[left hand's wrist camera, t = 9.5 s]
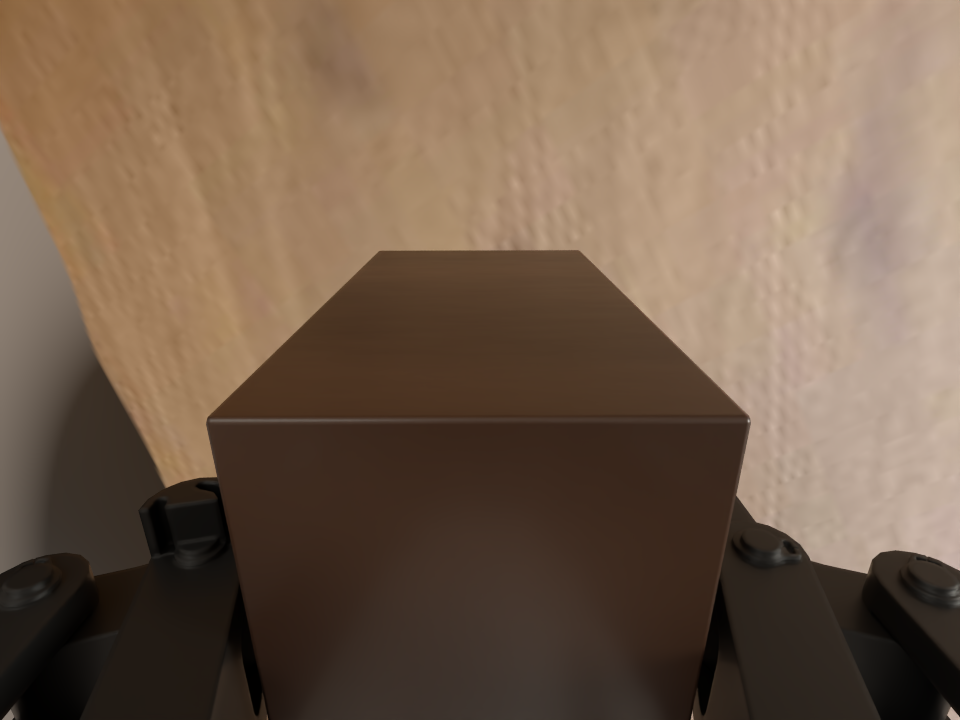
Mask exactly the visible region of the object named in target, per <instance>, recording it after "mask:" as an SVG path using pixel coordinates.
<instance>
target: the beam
mask: <svg viewBox="0 0 960 720" xmlns="http://www.w3.org/2000/svg"><path fill="white" fill-rule="evenodd" d="M750 424H751V422H750V418H749V416H748V415H747V414H746V413H745V412H744V411H743V410H742V409H741V408H740V407H739V406H738V405H737V404H736V403H735V402H734V401H733V400H732V399H731V398H730V397H729V396H728V395H727V394H726V393H725V392H724V391H723V390H722V389H721V388H720V387H719V386H718V385H717V384H716V383H715V382H714V381H712V380H711V379H710V378H709V377H708V376H707V375H706V374H705V373H704V372H703V371H702V370H701V369H700V368H699V367H698V366H697V365H696V364H695V363H694V362H693V361H692V360H691V359H690V358H689V357H688V356H687V355H686V354H685V353H684V352H683V351H682V350H681V349H680V348H679V347H678V346H677V345H676V344H675V343H674V342H673V341H671V340H670V339H669V338H668V337H667V336H666V335H665V334H664V333H663V332H662V331H661V330H660V329H659V328H658V327H657V326H656V325H655V324H654V323H653V322H652V321H651V320H650V319H649V318H648V317H647V316H646V315H645V314H644V313H643V312H642V311H641V310H640V309H639V308H638V307H637V306H636V305H635V304H634V303H633V302H632V301H630V300H629V299H628V298H627V297H626V296H625V295H624V294H623V293H622V292H621V291H620V290H619V289H618V288H617V287H616V286H615V285H614V284H613V283H612V282H611V281H610V280H609V279H608V278H607V277H606V276H605V275H604V274H603V273H602V272H601V271H600V270H599V269H598V268H597V267H596V266H595V265H594V264H593V263H592V262H591V261H589V260H588V259H587V258H586V257H585V256H584V255H583V254H582V253H581V252H580V251H578V250H546V251H379V252H378V253H377V254H376V255H375V256H374V257H373V258H372V259H371V260H370V261H369V262H368V263H367V264H366V265H365V266H363V267H362V268H361V269H360V270H359V271H358V272H357V273H356V274H355V275H354V276H353V277H352V278H351V279H350V280H349V281H348V282H347V283H346V284H345V285H344V286H343V287H342V288H341V289H340V290H339V291H338V292H337V293H336V294H335V295H334V296H333V297H331V298H330V299H329V300H328V301H327V302H326V303H325V304H324V305H323V306H322V307H321V308H320V309H319V310H318V311H317V312H316V313H315V314H314V315H313V316H312V317H311V318H310V319H309V320H308V321H307V322H306V323H305V324H304V325H303V326H302V327H301V328H299V329H298V330H297V331H296V332H295V333H294V334H293V335H292V336H291V337H290V338H289V339H288V340H287V341H286V342H285V343H284V344H283V345H282V346H281V347H280V348H279V349H278V350H277V351H276V352H275V353H274V354H273V355H272V356H271V357H270V358H269V359H267V360H266V361H265V362H264V363H263V364H262V365H261V366H260V367H259V368H258V369H257V370H256V371H255V372H254V373H253V374H252V375H251V376H250V377H249V378H248V379H247V380H246V381H245V382H244V383H243V384H242V385H241V386H240V387H239V388H238V389H237V390H235V391H234V392H233V393H232V394H231V395H230V396H229V397H228V398H227V399H226V400H225V401H224V402H223V403H222V404H221V405H220V406H219V407H218V408H217V409H216V410H215V411H214V412H213V413H212V414H211V415H210V416H209V417H208V418H207V423H206V425H207V430H208V435H209V440H210V444H211V449H212V454H213V459H214V463H215V468H216V473H217V478H218V482H219V487H220V492H221V497H222V501H223V506H224V511H225V516H226V521H227V525H228V530H229V535H230V540H231V544H232V549H233V554H234V559H235V563H236V568H237V573H238V578H239V582H240V587H241V592H242V597H243V601H244V606H245V611H246V616H247V620H248V625H249V630H250V635H251V639H252V644H253V649H254V654H255V658H256V663H257V668H258V673H259V677H260V682H261V687H262V692H263V696H264V701H265V706H266V711H267V715H268V720H691V715H692V710H693V705H694V700H695V695H696V690H697V685H698V680H699V675H700V671H701V666H702V661H703V656H704V651H705V646H706V641H707V636H708V631H709V626H710V621H711V616H712V611H713V606H714V602H715V597H716V592H717V587H718V582H719V577H720V572H721V567H722V562H723V557H724V552H725V547H726V542H727V537H728V532H729V528H730V523H731V518H732V513H733V508H734V503H735V498H736V493H737V488H738V483H739V478H740V473H741V468H742V463H743V459H744V454H745V449H746V444H747V439H748V434H749V429H750Z"/></svg>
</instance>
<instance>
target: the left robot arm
mask: <svg viewBox="0 0 960 720" xmlns="http://www.w3.org/2000/svg"><path fill="white" fill-rule="evenodd" d="M139 514H140V518H141V521H142V525H143V528H144V532H145V536H146V539H147V543H148V546H149V550H150V554H151V559H150V562H149V564H146V565H142V566H138V567H135V568H130V569H126V570H121V571H116V572H112V573H107V574H102V575H97V576H93V573H92V570H91V567H90V564H89V562H88V561H87V560H86V559H85V558H84V557H82V556H81V555H78V554H71V553H60V554H52V555H46V556H42V557H38V558H36V559H31V560H29V561H26V562H23V563H21V564H19V565H18V566H16V567H14V568H12V569H10V570H7V571H6V572H3V573H2V574H0V720H2V719H3V718H4V716H5V715H6V714H7V713H8V712H9V710H10V709H11V710H12V713H13V715H14V718H13V720H266V719H267V711H266V706H265V701H264V696H263V692H262V687H261V682H260V677H259V673H258V668H257V663H256V658H255V654H254V649H253V644H252V639H251V635H250V630H249V625H248V620H247V616H246V611H245V606H244V601H243V597H242V592H241V587H240V582H239V578H238V573H237V568H236V563H235V559H234V554H233V549H232V544H231V540H230V535H229V530H228V525H227V521H226V516H225V511H224V506H223V501H222V497H221V492H220V487H219V482H218V478H217V477H212V478H197V479H193V480H188V481H184V482H180V483H178V484H175V485H173V486H170V487H168V488H165V489H163V490H161V491H160V492H158V493H157V494H155V495H154V496H152V497H151V498H149V499H148V500H147V501H146V502H145V503H144V505H143V506H142V507H141V508H140V509H139ZM950 707H952V708H953V709H954V711H955V712H956V713H957V714H958V715H959V717H960V571H959V570H957V569H955V568H953V567H951V566H949V565H947V564H945V563H943V562H941V561H939V560H937V559H934V558H931V557H926V556H925V555H921V554H917V553H911V552H904V551H896V550H895V551H888V552H882V553H880V554H878V555H877V556H876V557H875V558H874V559H872V562H871V565H870V568H869V571H868V574H865V573H860V572H855V571H851V570H846V569H841V568H837V567H832V566H827V565H823V564H820V563H816V562H812V561H810V558H809V556H808V555H807V554H806V552H805V551H804V549H803V548H802V547H801V545H800V544H799V543H797V542H796V541H795V540H793V539H792V538H791V537H789V536H788V535H787V534H785V533H783V532H781V531H779V530H777V529H775V528H772V527H770V526H768V525H764V524H760V523H756V522H755V520H754V519H753V518H752V516H751V515H750V514H749V512H748V511H747V510H746V508H745V507H744V506H743V504H742V503H741V502H740V500H739V499H738V498H737V496H736V498H735V503H734V508H733V513H732V518H731V523H730V528H729V532H728V537H727V542H726V547H725V552H724V557H723V562H722V567H721V572H720V577H719V582H718V587H717V592H716V597H715V602H714V606H713V611H712V616H711V621H710V626H709V631H708V636H707V641H706V646H705V651H704V656H703V661H702V666H701V671H700V675H699V680H698V685H697V690H696V695H695V700H694V705H693V717H694V720H950V718H949V717H948V716H947V714H948V712H949V710H950Z"/></svg>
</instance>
